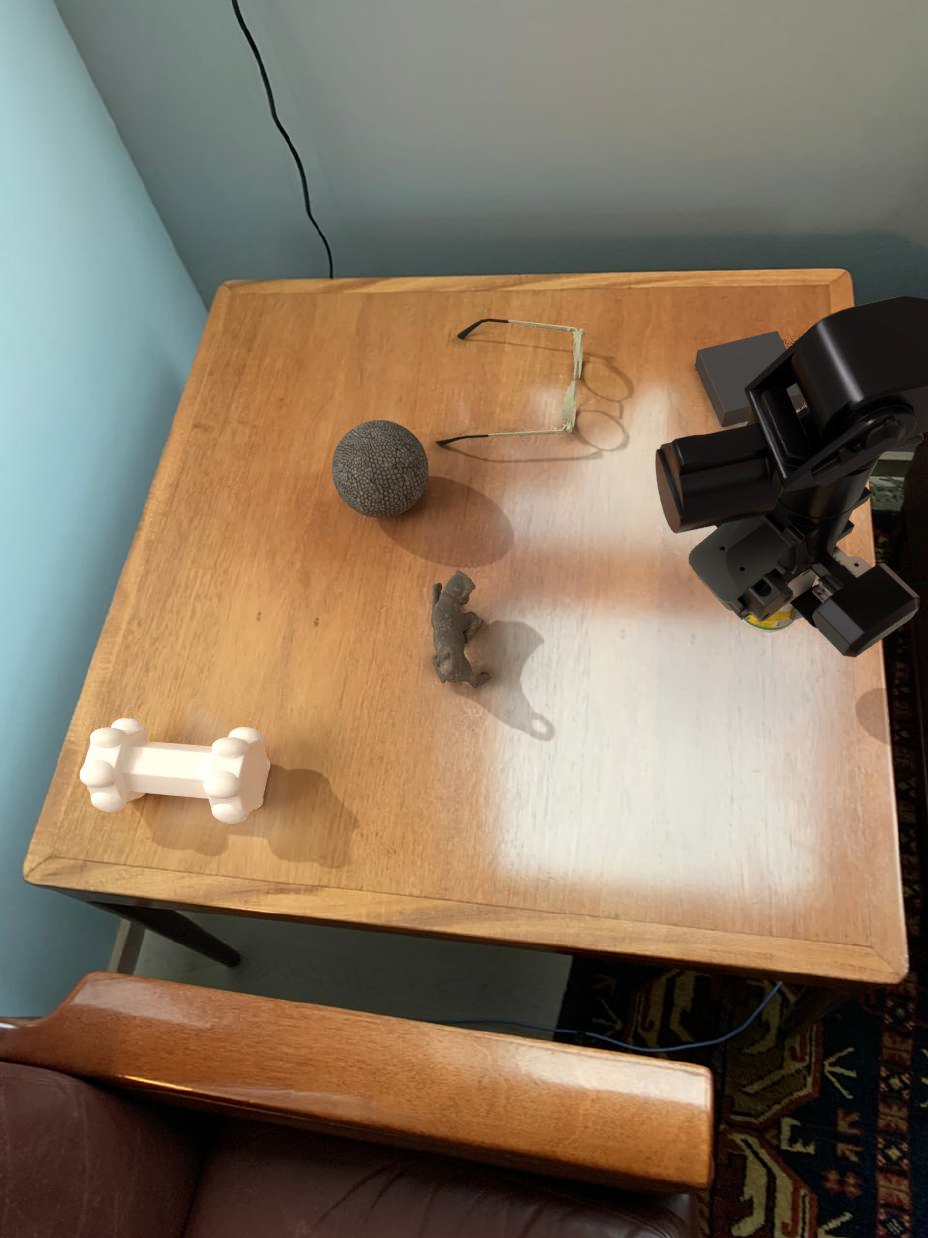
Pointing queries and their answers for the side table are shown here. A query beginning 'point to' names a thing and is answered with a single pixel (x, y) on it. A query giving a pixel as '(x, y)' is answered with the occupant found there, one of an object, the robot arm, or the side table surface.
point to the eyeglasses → (571, 394)
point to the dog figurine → (454, 630)
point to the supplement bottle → (782, 616)
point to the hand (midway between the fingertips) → (771, 590)
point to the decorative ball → (380, 469)
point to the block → (739, 374)
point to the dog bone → (176, 769)
